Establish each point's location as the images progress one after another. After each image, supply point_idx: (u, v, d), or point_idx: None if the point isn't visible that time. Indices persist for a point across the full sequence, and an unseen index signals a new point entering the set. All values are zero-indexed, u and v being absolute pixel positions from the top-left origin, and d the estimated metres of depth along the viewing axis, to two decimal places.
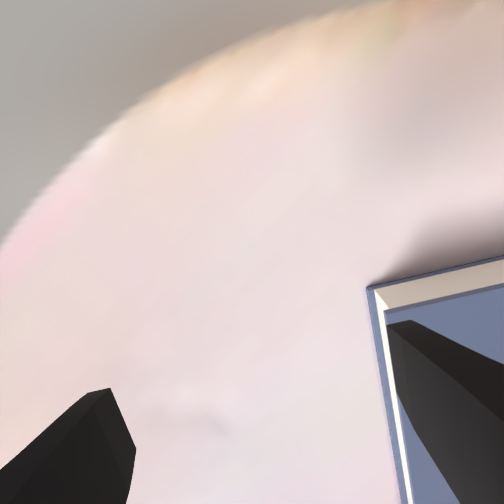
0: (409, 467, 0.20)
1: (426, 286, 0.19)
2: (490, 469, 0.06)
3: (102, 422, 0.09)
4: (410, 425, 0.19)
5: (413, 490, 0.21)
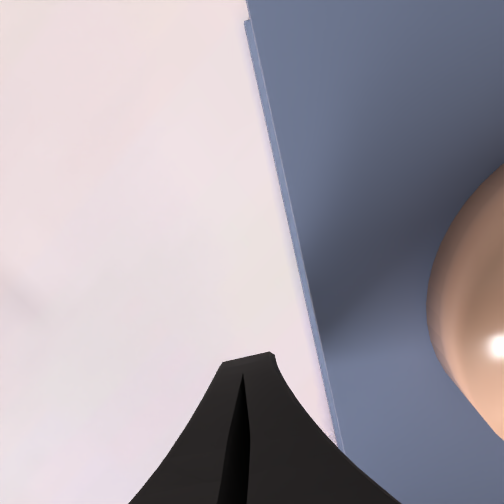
0: (322, 346, 0.11)
1: None
2: None
3: None
4: (316, 256, 0.10)
5: (332, 391, 0.12)
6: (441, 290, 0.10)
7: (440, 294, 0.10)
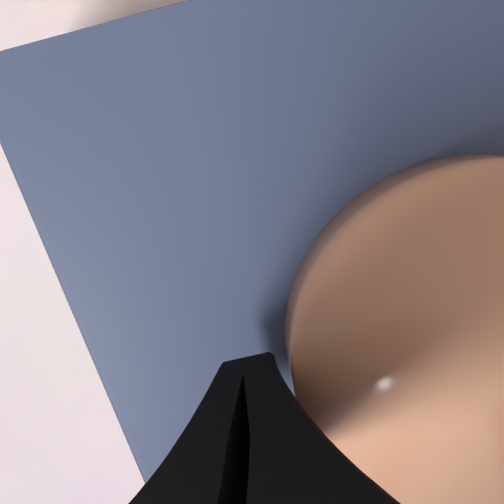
0: (111, 398, 0.11)
1: None
2: None
3: None
4: (86, 314, 0.10)
5: (129, 441, 0.12)
6: (288, 330, 0.10)
7: (288, 333, 0.10)
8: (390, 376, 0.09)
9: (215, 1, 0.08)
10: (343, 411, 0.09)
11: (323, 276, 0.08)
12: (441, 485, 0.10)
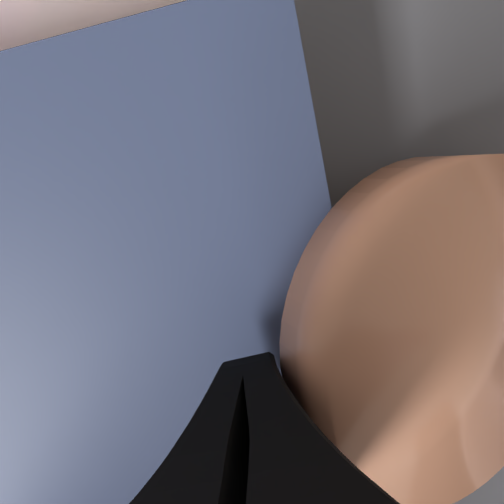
0: None
1: None
2: None
3: None
4: None
5: None
6: (296, 350, 0.09)
7: (295, 355, 0.09)
8: (410, 373, 0.09)
9: None
10: (373, 424, 0.08)
11: (354, 277, 0.08)
12: (448, 474, 0.10)
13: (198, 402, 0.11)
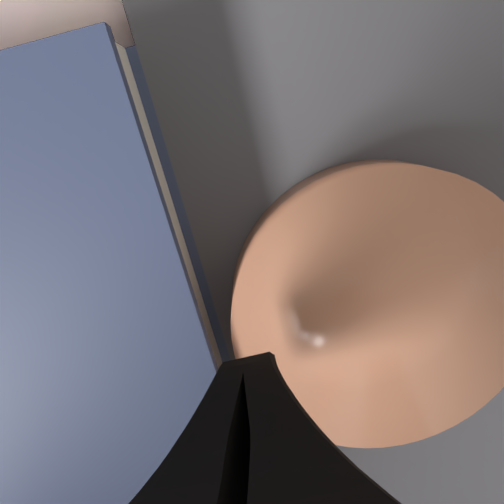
0: None
1: None
2: None
3: None
4: None
5: None
6: None
7: None
8: (305, 331, 0.11)
9: None
10: None
11: (250, 251, 0.11)
12: (353, 422, 0.12)
13: (66, 431, 0.12)
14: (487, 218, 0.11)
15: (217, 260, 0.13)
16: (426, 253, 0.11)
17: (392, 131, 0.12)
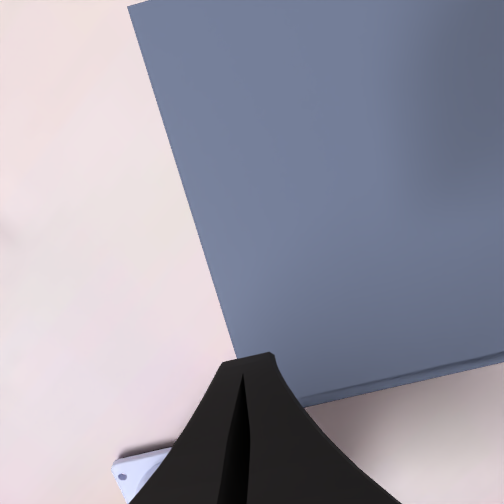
0: (203, 248, 0.16)
1: None
2: None
3: None
4: (191, 182, 0.15)
5: (213, 281, 0.17)
6: None
7: None
8: None
9: None
10: None
11: None
12: None
13: (402, 215, 0.16)
14: None
15: None
16: None
17: None
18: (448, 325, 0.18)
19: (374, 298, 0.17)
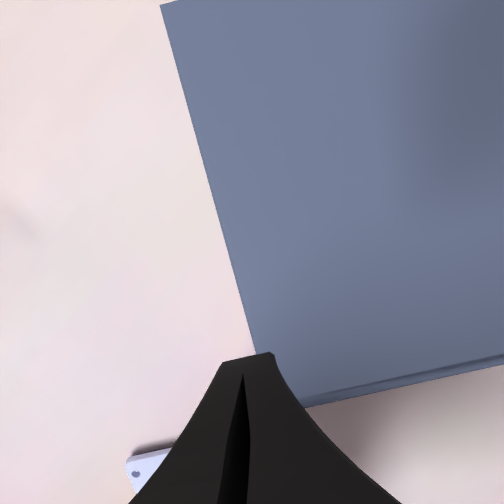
0: (226, 244, 0.17)
1: None
2: None
3: None
4: (216, 179, 0.16)
5: (235, 277, 0.17)
6: None
7: None
8: None
9: None
10: None
11: None
12: None
13: (423, 213, 0.16)
14: None
15: None
16: None
17: None
18: (465, 323, 0.18)
19: (393, 295, 0.17)
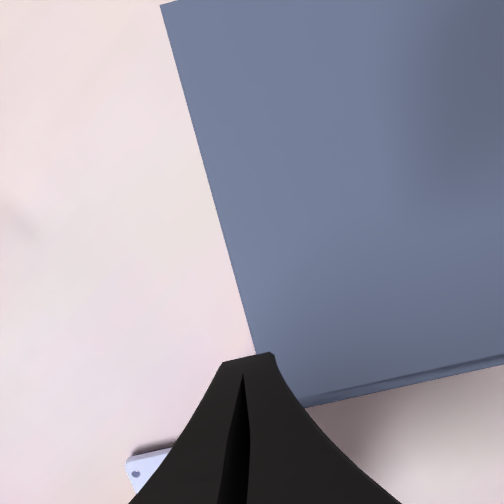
0: (226, 244, 0.17)
1: None
2: None
3: None
4: (216, 179, 0.16)
5: (235, 277, 0.17)
6: None
7: None
8: None
9: None
10: None
11: None
12: None
13: (423, 213, 0.16)
14: None
15: None
16: None
17: None
18: (465, 323, 0.18)
19: (393, 295, 0.17)
